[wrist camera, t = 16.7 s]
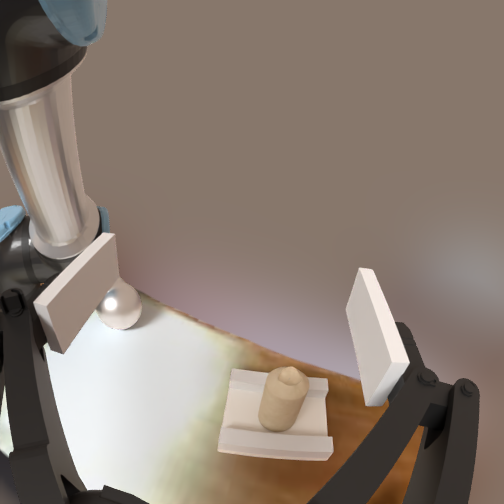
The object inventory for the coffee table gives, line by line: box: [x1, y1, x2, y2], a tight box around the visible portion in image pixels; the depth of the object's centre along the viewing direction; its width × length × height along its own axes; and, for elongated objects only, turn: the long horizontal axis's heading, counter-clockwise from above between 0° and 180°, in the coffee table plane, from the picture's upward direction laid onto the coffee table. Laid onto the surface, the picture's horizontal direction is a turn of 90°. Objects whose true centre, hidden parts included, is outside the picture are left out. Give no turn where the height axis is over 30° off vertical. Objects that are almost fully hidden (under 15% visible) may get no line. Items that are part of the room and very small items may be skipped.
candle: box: [258, 367, 309, 432], centre depth 39 cm, size 6×6×10 cm
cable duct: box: [218, 368, 333, 461], centre depth 41 cm, size 15×13×3 cm
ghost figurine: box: [94, 277, 142, 330], centre depth 53 cm, size 9×10×10 cm
